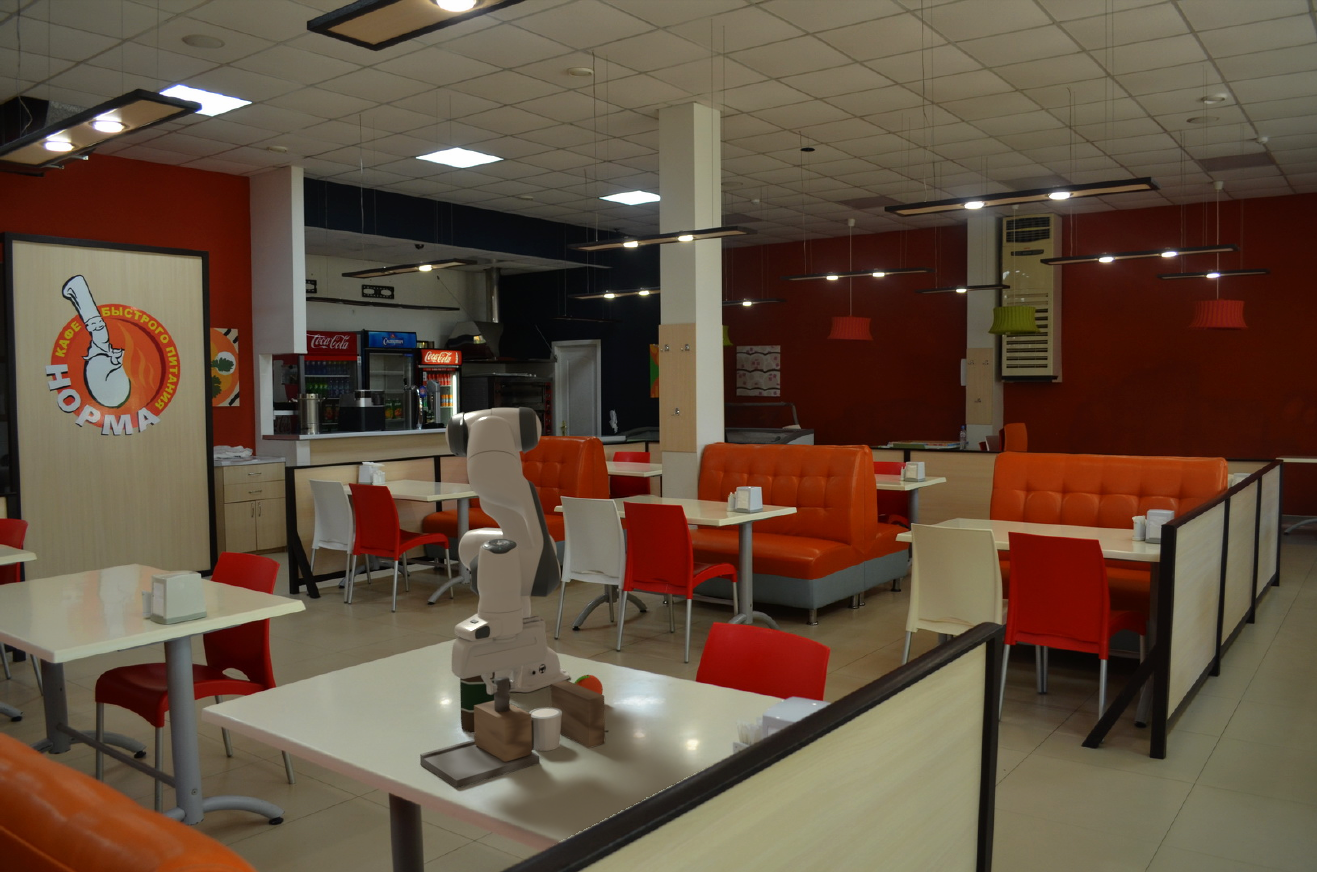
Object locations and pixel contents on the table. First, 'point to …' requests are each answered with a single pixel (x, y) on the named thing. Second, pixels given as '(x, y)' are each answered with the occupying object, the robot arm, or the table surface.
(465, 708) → the beer bottle
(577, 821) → the table surface
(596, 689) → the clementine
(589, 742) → the frame
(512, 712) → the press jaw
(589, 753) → the table surface
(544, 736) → the white cup
